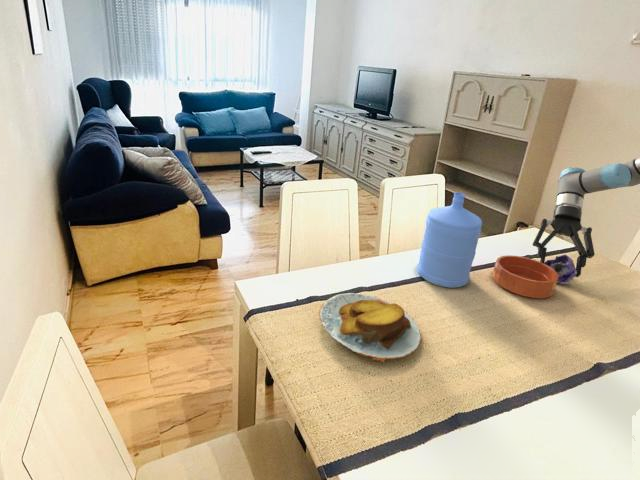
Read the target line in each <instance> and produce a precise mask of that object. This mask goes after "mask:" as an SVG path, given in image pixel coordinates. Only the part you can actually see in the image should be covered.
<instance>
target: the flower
mask: <svg viewBox="0 0 640 480" xmlns="http://www.w3.org/2000/svg"><path fill="white" fill-rule="evenodd" d="M544 264H545V265H547V266H549V267H551V268H552V269H553V270H555V271H556V272H557V274H558V276H559V277H558V281H557V284H561V285H568V284H569V283H570V282H571V280H574V279H575V278H576V277H575V276H576V275H577V270H576V265H575V264H574V260H573V259H572V258H571V256H568V255H567V254H561V255H557V256H555V258H554V259H547V260H545V263H544Z"/></svg>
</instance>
